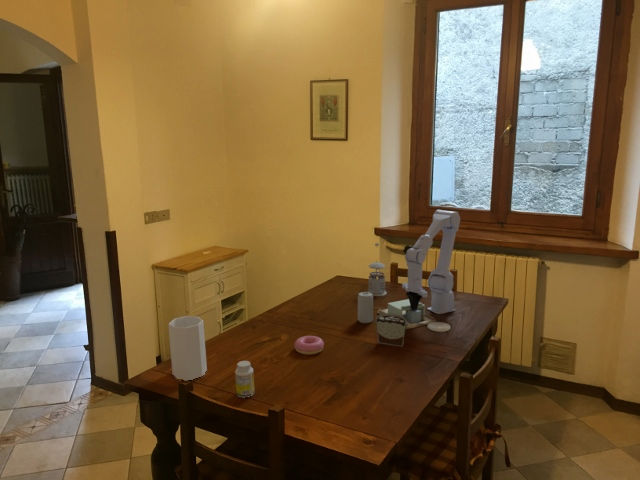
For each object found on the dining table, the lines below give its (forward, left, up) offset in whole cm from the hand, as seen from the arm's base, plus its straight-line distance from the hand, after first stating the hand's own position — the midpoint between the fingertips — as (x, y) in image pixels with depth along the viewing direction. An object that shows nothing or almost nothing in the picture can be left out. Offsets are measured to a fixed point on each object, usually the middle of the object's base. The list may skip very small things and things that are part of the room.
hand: (414, 309), depth 214 cm
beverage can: (+17, -11, -6) cm, 21 cm away
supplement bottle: (+81, +23, -6) cm, 85 cm away
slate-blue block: (0, -1, -6) cm, 6 cm away
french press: (-8, -41, -6) cm, 42 cm away
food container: (+19, +12, -6) cm, 23 cm away
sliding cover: (0, -6, -4) cm, 7 cm away
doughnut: (+50, +3, -6) cm, 50 cm away
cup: (+93, +1, -6) cm, 93 cm away
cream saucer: (-5, +10, -6) cm, 12 cm away
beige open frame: (0, -6, -6) cm, 8 cm away
